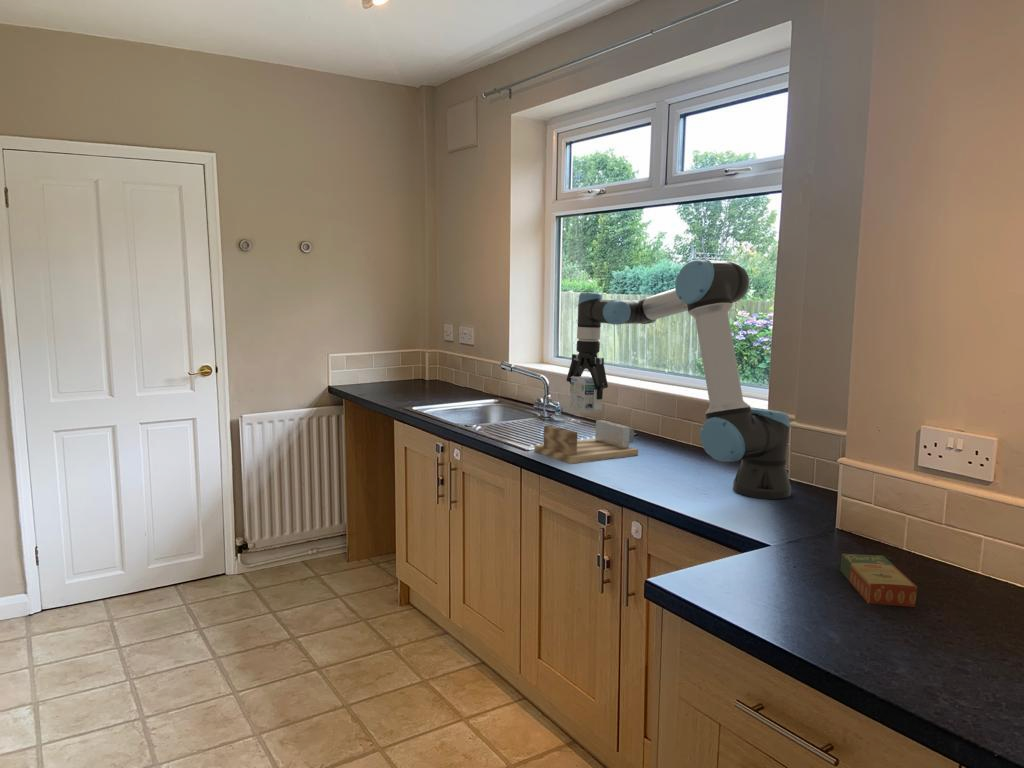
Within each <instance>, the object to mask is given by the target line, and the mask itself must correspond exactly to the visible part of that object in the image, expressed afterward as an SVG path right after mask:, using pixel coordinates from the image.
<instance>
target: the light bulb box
mask: <svg viewBox="0 0 1024 768" xmlns="http://www.w3.org/2000/svg"><path fill="white" fill-rule="evenodd" d="M595 388H596V387H595V384H594V382H593V379H592V376H589V375H583V376H582V375H581V376H571V384H570V390H571V392H570V401H569V402H570V404H569V407H570V408H571V409H573V410H575V411H576V410H577V411H579V412H581V413H602V411H603V400H602V401H601V409H596V410H594V409H593V401H594V389H595Z"/></svg>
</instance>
